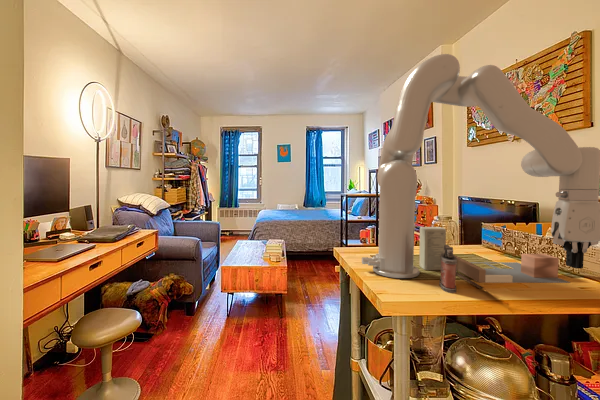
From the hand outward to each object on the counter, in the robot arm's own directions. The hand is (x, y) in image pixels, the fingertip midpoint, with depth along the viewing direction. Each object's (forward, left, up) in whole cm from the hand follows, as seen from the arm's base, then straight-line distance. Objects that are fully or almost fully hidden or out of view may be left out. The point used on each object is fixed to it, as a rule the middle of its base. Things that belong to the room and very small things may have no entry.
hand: (574, 266), depth 77 cm
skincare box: (-32, +11, -4) cm, 34 cm away
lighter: (-35, -5, -4) cm, 36 cm away
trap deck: (-17, +3, -4) cm, 18 cm away
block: (-9, 0, -2) cm, 9 cm away
